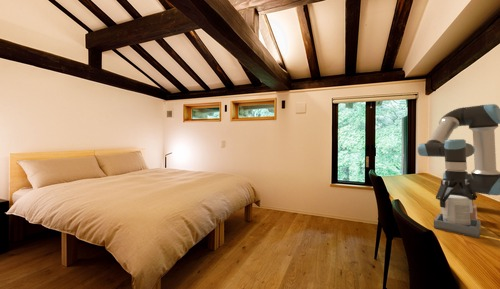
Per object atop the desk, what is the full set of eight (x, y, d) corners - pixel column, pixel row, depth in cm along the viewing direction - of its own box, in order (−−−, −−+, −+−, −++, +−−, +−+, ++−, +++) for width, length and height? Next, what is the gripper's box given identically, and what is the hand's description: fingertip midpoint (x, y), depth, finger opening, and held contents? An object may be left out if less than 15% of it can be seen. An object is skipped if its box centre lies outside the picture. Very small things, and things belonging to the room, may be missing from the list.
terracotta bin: (450, 216, 116) (450, 200, 116) (477, 221, 108) (476, 204, 108) (448, 220, 110) (448, 204, 110) (475, 226, 102) (475, 208, 102)
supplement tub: (472, 227, 98) (471, 197, 98) (468, 232, 93) (467, 200, 93) (445, 221, 106) (445, 193, 106) (440, 225, 101) (439, 196, 101)
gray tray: (439, 220, 110) (439, 213, 110) (480, 228, 99) (480, 220, 99) (433, 228, 101) (433, 220, 101) (479, 238, 89) (479, 229, 89)
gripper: (468, 168, 105) (469, 209, 105) (425, 170, 102) (426, 212, 102) (487, 170, 97) (488, 214, 97) (441, 172, 95) (442, 217, 95)
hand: (456, 213), depth 100 cm, fingers open, 13 cm apart
